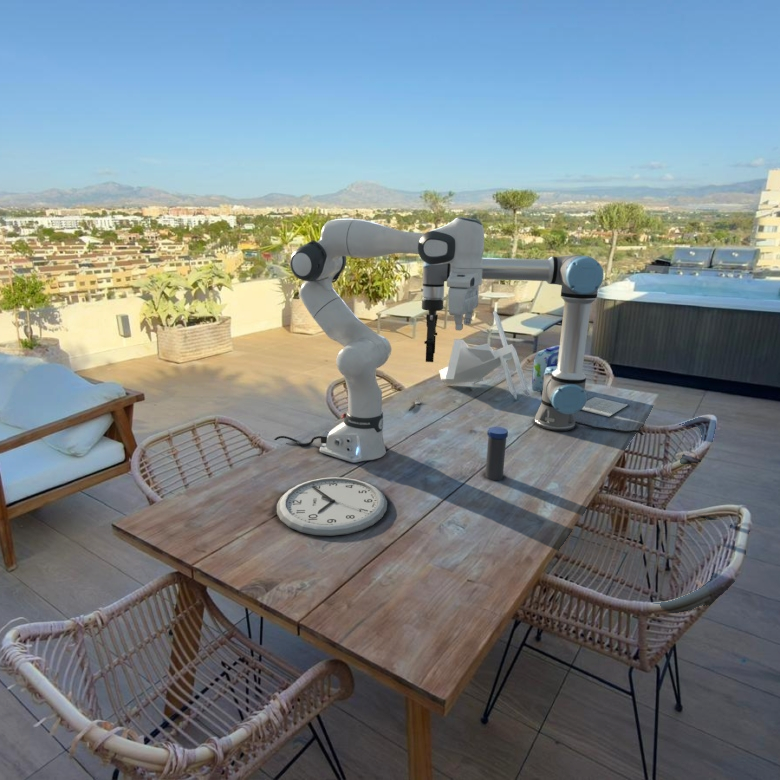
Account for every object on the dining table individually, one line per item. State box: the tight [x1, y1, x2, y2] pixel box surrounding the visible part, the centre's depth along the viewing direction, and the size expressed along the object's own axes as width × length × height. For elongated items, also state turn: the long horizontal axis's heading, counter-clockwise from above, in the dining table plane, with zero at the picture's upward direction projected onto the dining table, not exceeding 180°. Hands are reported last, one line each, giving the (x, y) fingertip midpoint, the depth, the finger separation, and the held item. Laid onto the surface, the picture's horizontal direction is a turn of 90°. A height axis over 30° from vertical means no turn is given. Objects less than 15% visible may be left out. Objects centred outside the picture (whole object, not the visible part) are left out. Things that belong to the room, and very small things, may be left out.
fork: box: [408, 396, 423, 412], centre depth 222 cm, size 3×16×2 cm, turn 160°
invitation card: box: [580, 396, 629, 418], centre depth 226 cm, size 21×1×15 cm
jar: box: [484, 435, 507, 481], centre depth 159 cm, size 5×5×15 cm
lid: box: [486, 426, 509, 439], centre depth 157 cm, size 6×6×2 cm
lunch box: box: [531, 344, 560, 393], centre depth 245 cm, size 26×11×21 cm, turn 134°
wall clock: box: [276, 476, 388, 537], centre depth 142 cm, size 30×2×30 cm
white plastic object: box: [438, 310, 531, 400], centre depth 245 cm, size 37×45×31 cm
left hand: (463, 327), depth 150 cm, fingers open, 8 cm apart
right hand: (430, 357), depth 190 cm, fingers open, 13 cm apart
